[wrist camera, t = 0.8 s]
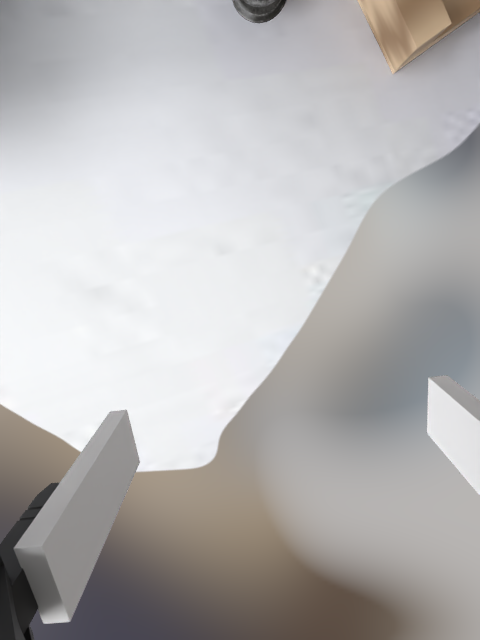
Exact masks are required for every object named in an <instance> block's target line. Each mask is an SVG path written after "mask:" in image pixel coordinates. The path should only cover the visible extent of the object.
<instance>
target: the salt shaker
mask: <svg viewBox="0 0 480 640" xmlns="http://www.w3.org/2000/svg"><path fill="white" fill-rule="evenodd" d="M232 1H233V4H234V6H235V8H236V10H237V11H238V13H239V14H240V15H241V16H242V17H243V18H244V19H246V20H248V21H250V22H254V23H263V22H267V21H269V20H271V19H273V18H274V17H275V16H276V15H277V14H278V13H279V12H280V11H281V9H282V8H283V6H284V4H285V1H286V0H232Z"/></svg>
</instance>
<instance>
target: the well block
mask: <svg viewBox="0 0 480 640" xmlns="http://www.w3.org/2000/svg"><path fill="white" fill-rule="evenodd" d="M358 2H359V5H360V7H361V9H362V11H363V13H364V15H365V17H366V19H367V21H368V23H369V25H370V27H371V29H372V32H373V34H374V36H375V38H376V40H377V42H378V44H379V46H380V48H381V50H382V52H383V54H384V56H385V59H386V61H387V63H388V65H389V67H390V69H391V71H392V73H393V74H394V73H395V72H397V71H398V70H399V69H401V68H402V67H404V66H405V65H406V64H408V63H409V62H411V61H412V60H413V59H415V58H416V57H418V56H419V55H420V54H422V53H423V52H424V51H426V50H427V49H429V48H430V47H431V46H433V45H434V44H436V43H437V42H438V41H440V40H441V39H443V38H444V37H445V36H447V35H448V34H450V33H451V32H452V31H454V30H455V29H457V28H458V27H459V26H461V25H462V24H464V23H465V22H466V21H468V20H469V19H471V18H472V17H473V16H475V15H476V14H477V13H479V12H480V0H358Z"/></svg>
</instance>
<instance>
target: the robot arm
mask: <svg viewBox="0 0 480 640" xmlns="http://www.w3.org/2000/svg"><path fill="white" fill-rule="evenodd" d="M427 419H428V420H427V434H428V435H429V436H430V437H431V438H432V440H433V441H434V442H435V443H436V444H437V445H438V447H439V448H440V449H441V450H442V451H443V453H444V454H445V455H446V456H447V457H448V458H449V460H450V461H451V462H452V463H453V464H454V466H455V467H456V468H457V469H458V470H459V471H460V472H461V474H462V475H463V476H464V477H465V479H466V480H467V481H468V482H469V483H470V485H471V486H472V487H473V488H474V489H475V490H476V492H477V493H478V494H479V495H480V401H479V400H478V399H477V398H476V397H474V396H473V395H472V394H470V393H469V392H468V391H466V390H465V389H464V388H462V387H461V386H460V385H459V384H458V383H456V382H455V381H454V380H452V379H451V378H450V377H448V376H447V375H445V376H436V377H429V378H428V418H427ZM139 463H140V461H139V457H138V453H137V449H136V444H135V440H134V436H133V432H132V428H131V424H130V420H129V416H128V412H127V410H121V411H112V412H110V413H109V414H108V415H107V417H106V418H105V420H104V421H103V422H102V424H101V425H100V427H99V428H98V430H97V431H96V432H95V434H94V435H93V437H92V438H91V439H90V441H89V442H88V444H87V445H86V447H85V448H84V449H83V451H82V452H81V454H80V455H79V456H78V458H77V459H76V461H75V462H74V464H73V465H72V467H71V468H70V469H69V471H68V472H67V473H66V475H65V476H64V478H63V479H62V481H61V482H60V483H51V484H50V485H49V486H48V487H46V488H45V489H44V490H43V491H42V492H40V493H39V494H38V495H37V496H36V497H35V499H34V500H33V501H32V503H31V504H30V505H29V507H28V510H26V511H25V512H24V513H23V515H22V516H21V517H20V520H19V521H17V523H16V524H15V525H14V527H13V528H12V529H11V531H10V532H9V533H8V534H7V536H6V537H5V538H4V540H3V541H2V543H1V544H0V640H34V637H33V632H32V630H31V627H30V625H29V624H30V622H31V620H32V619H33V617H34V615H35V613H36V611H37V609H38V610H39V613H40V615H41V618H42V621H43V623H44V624H46V623H60V622H70V621H71V618H72V616H73V614H74V611H75V609H76V607H77V604H78V602H79V600H80V598H81V595H82V593H83V591H84V589H85V586H86V584H87V582H88V579H89V577H90V575H91V572H92V570H93V568H94V566H95V563H96V561H97V559H98V557H99V554H100V552H101V550H102V547H103V545H104V543H105V541H106V538H107V536H108V534H109V531H110V529H111V527H112V525H113V522H114V520H115V518H116V515H117V513H118V511H119V509H120V506H121V504H122V502H123V499H124V497H125V495H126V493H127V490H128V488H129V486H130V483H131V481H132V479H133V477H134V474H135V472H136V470H137V467H138V465H139Z"/></svg>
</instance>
